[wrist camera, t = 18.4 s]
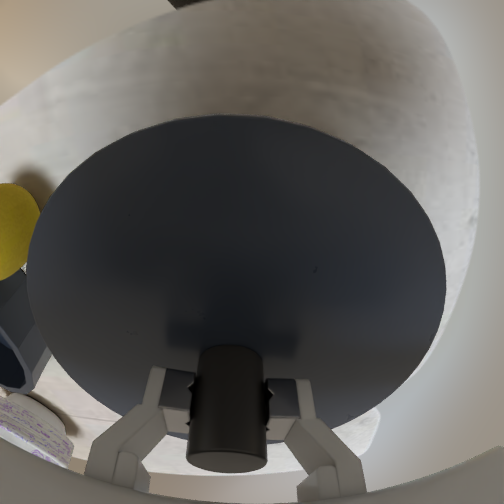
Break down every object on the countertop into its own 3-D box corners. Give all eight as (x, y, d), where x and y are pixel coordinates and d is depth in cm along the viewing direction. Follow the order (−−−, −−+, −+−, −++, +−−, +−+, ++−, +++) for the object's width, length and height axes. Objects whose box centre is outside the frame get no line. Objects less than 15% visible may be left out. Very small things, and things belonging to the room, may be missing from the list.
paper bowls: (54, 434, 38) (43, 467, 31) (-8, 385, 31) (-25, 418, 24) (96, 434, 34) (85, 476, 27) (18, 374, 27) (-4, 418, 20)
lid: (13, 117, 7) (-105, 167, 2) (488, 177, 8) (589, 248, 3) (92, 405, 15) (71, 472, 11) (349, 427, 16) (362, 495, 12)
